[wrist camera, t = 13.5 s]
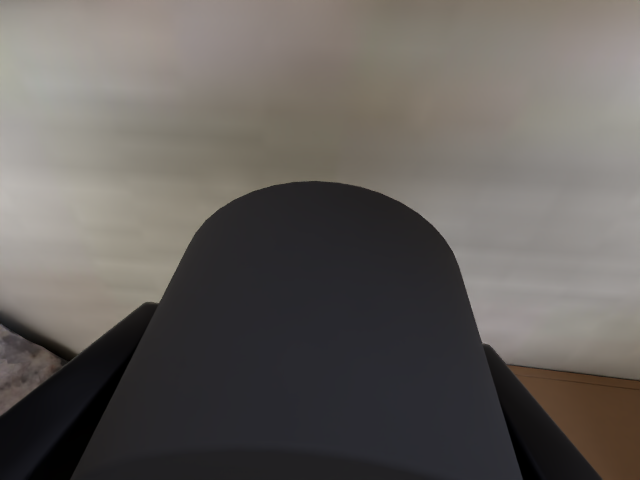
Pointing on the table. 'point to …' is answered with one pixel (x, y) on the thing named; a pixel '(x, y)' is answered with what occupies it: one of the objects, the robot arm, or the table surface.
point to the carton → (592, 416)
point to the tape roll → (308, 353)
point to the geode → (22, 367)
